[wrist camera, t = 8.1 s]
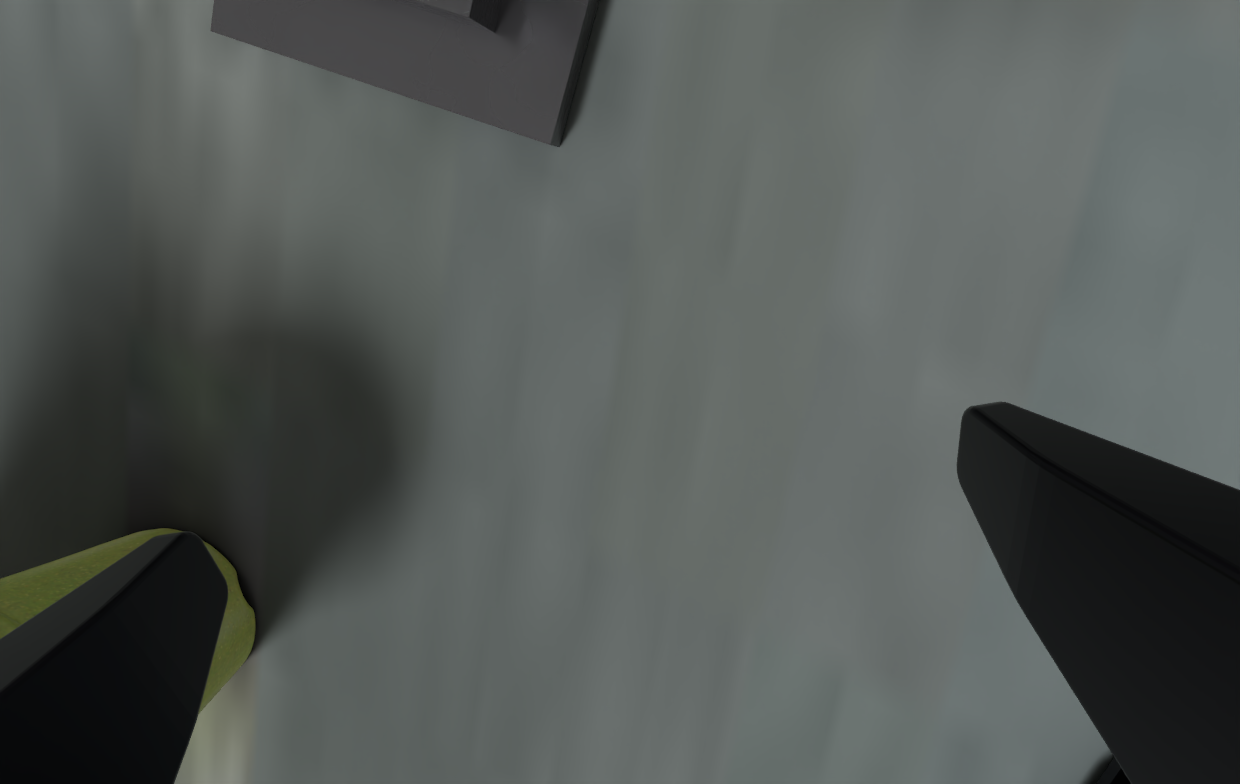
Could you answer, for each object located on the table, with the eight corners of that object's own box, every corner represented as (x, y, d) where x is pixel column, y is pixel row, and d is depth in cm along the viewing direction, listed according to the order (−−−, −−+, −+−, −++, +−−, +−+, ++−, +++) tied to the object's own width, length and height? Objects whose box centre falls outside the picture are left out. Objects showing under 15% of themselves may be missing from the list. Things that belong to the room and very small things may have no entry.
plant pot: (97, 433, 25) (-241, 547, 17) (332, 558, 24) (97, 742, 16) (59, 638, 28) (-245, 821, 20) (266, 755, 27) (40, 998, 19)
